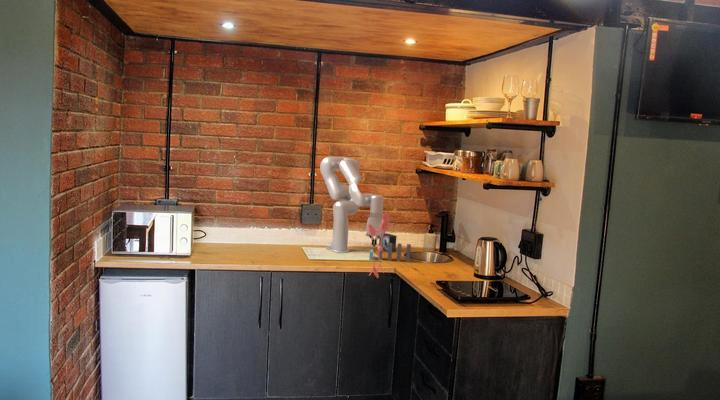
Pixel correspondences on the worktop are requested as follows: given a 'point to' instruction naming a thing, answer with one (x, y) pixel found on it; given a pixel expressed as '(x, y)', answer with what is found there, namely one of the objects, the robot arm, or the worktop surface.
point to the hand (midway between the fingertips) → (373, 246)
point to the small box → (388, 241)
